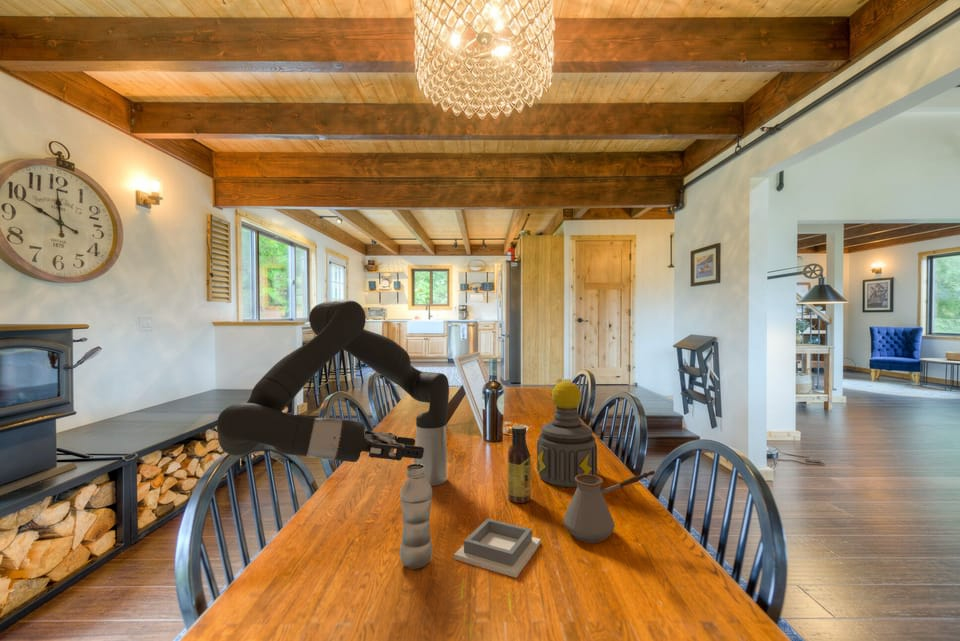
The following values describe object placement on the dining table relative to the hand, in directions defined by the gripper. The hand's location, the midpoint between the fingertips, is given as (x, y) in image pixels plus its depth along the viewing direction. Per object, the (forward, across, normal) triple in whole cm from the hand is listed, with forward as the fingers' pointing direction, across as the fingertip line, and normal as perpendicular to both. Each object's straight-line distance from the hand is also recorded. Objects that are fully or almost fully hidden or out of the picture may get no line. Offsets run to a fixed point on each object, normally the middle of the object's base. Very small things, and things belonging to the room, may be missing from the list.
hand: (418, 448), depth 87 cm
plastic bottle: (+5, +2, +24) cm, 24 cm away
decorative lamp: (+57, +32, +10) cm, 66 cm away
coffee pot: (+48, -2, +14) cm, 50 cm away
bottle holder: (+22, +1, +20) cm, 29 cm away
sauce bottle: (+36, +23, +15) cm, 45 cm away
